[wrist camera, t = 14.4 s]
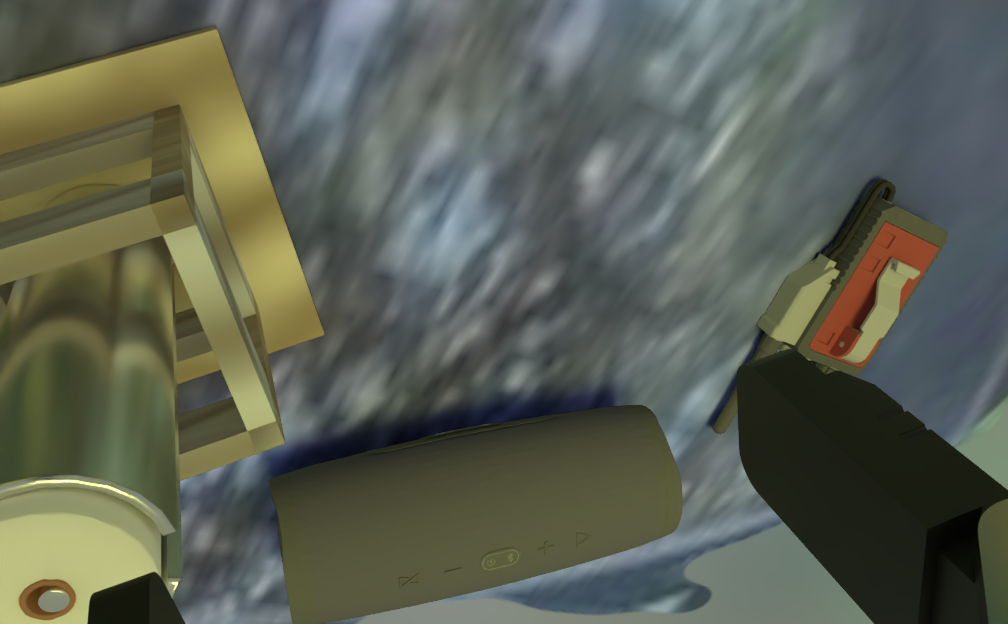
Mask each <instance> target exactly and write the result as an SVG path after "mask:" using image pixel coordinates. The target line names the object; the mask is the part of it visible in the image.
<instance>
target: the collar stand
mask: <svg viewBox="0 0 1008 624" xmlns="http://www.w3.org/2000/svg"><path fill="white" fill-rule="evenodd" d="M93 184H103V185H115V186H119V188H115V189H112V190H109V191H105V192H102V193H98V194H95V195H92V196H88V197H85V198H82V199H78V200H75V201H71V202H68V203H65V204H61V205H58V206H54V207H51V208H48V209H44V210H43V208H44V207H45V206H46V205H47V204H48V203H49V202H50V201H52V200H53V199H54V198H56V197H57V196H58V195H59V194H61V193H64V192H66V191H69V190H71V189H73V188H76V187H79V186H86V185H93ZM161 235H163V236H164V239H165V241H166V243H167V246H168V248H169V250H170V252H171V255H172V257H173V259H174V286H175V323H176V360H177V384H180V383H183V382H186V381H188V380H191V379H194V378H197V377H200V376H203V375H206V374H209V373H212V372H215V371H218V370H221V371H222V373H223V376H224V378H225V380H226V382H227V385H228V387H229V389H230V392H231V394H232V396H233V397H230V398H227V399H224V400H221V401H218V402H216V403H213V404H210V405H207V406H204V407H201V408H198V409H195V410H192V411H189V412H186V413H183V414H180V415H178V434H179V471H180V481H182V480H184V479H187V478H190V477H193V476H196V475H198V474H201V473H204V472H207V471H210V470H213V469H215V468H218V467H221V466H224V465H227V464H229V463H232V462H235V461H238V460H241V459H243V458H246V457H249V456H252V455H255V454H258V453H260V452H263V451H266V450H269V449H272V448H274V447H277V446H280V445H283V444H285V439H284V434H283V429H282V424H281V419H280V413H279V408H278V403H277V398H276V393H275V388H274V383H273V378H272V373H271V368H270V363H269V358H268V354H269V353H272V352H275V351H278V350H281V349H284V348H286V347H289V346H292V345H295V344H298V343H301V342H304V341H307V340H310V339H313V338H316V337H319V336H322V335H325V334H324V331H323V328H322V325H321V322H320V319H319V317H318V314H317V311H316V308H315V305H314V302H313V300H312V297H311V294H310V291H309V288H308V285H307V283H306V280H305V277H304V274H303V271H302V268H301V265H300V263H299V260H298V257H297V254H296V251H295V248H294V246H293V243H292V240H291V237H290V234H289V231H288V229H287V226H286V223H285V220H284V217H283V214H282V212H281V209H280V206H279V203H278V200H277V197H276V195H275V192H274V189H273V186H272V183H271V180H270V178H269V175H268V172H267V169H266V166H265V163H264V160H263V158H262V155H261V152H260V149H259V146H258V143H257V141H256V138H255V135H254V132H253V129H252V126H251V124H250V121H249V118H248V115H247V112H246V109H245V107H244V104H243V101H242V98H241V95H240V92H239V90H238V87H237V84H236V81H235V78H234V75H233V72H232V70H231V67H230V64H229V61H228V58H227V55H226V53H225V50H224V47H223V44H222V41H221V38H220V36H219V33H218V30H217V27H216V26H212V27H208V28H205V29H201V30H197V31H194V32H190V33H186V34H182V35H179V36H175V37H171V38H168V39H164V40H160V41H156V42H153V43H149V44H145V45H142V46H138V47H134V48H130V49H127V50H123V51H119V52H116V53H112V54H108V55H104V56H101V57H97V58H93V59H90V60H86V61H82V62H79V63H75V64H71V65H67V66H64V67H60V68H56V69H53V70H49V71H45V72H41V73H38V74H34V75H30V76H27V77H23V78H19V79H15V80H12V81H8V82H4V83H1V84H0V325H1V322H2V319H3V316H4V313H5V310H6V307H7V304H8V301H9V298H10V295H11V292H12V289H13V286H14V283H15V280H18V279H21V278H25V277H28V276H31V275H34V274H38V273H41V272H44V271H47V270H51V269H54V268H57V267H60V266H64V265H67V264H70V263H74V262H77V261H80V260H83V259H87V258H90V257H93V256H96V255H100V254H103V253H106V252H109V251H113V250H116V249H119V248H122V247H126V246H129V245H132V244H135V243H139V242H142V241H145V240H148V239H152V238H155V237H158V236H161Z"/></svg>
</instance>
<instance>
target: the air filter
mask: <svg viewBox="0 0 1008 624" xmlns="http://www.w3.org/2000/svg"><path fill="white" fill-rule="evenodd" d="M115 188H119V186H115V185H103V184H93V185H86V186H79V187H76V188H73V189H71V190H69V191H66V192H64V193H61V194H59V195H58V196H57V197H56V198H54V199H53V200H52V201H50V202H49V203H48V204H47V205H46V206H45V207H44V208H43V210H44V209H48V208H51V207H54V206H58V205H61V204H65V203H68V202H71V201H75V200H78V199H82V198H85V197H88V196H92V195H95V194H98V193H102V192H105V191H109V190H112V189H115ZM151 572H156V573H158V575H159V576H160V577H161V578H162V580H163V582H164V584H165V585H166V587H167V589H168V591H169V593H170V595H171V597H172V599H173V598H174V595H175V593H176V591H177V588H178V586H179V584H180V581H181V579H182V545H181V508H180V471H179V434H178V397H177V360H176V323H175V286H174V259H173V257H172V255H171V252H170V250H169V248H168V246H167V243H166V241H165V239H164V236H163V235H161V236H158V237H155V238H152V239H148V240H145V241H142V242H139V243H135V244H132V245H129V246H126V247H122V248H119V249H116V250H113V251H109V252H106V253H103V254H100V255H96V256H93V257H90V258H87V259H83V260H80V261H77V262H74V263H70V264H67V265H64V266H60V267H57V268H54V269H51V270H47V271H44V272H41V273H38V274H34V275H31V276H28V277H25V278H21V279H18V280H15V283H14V286H13V289H12V292H11V295H10V298H9V301H8V304H7V307H6V310H5V313H4V316H3V319H2V322H1V325H0V624H87V623H88V610H89V601H90V597H91V595H92V594H93V593H95V592H98V591H100V590H103V589H106V588H109V587H112V586H114V585H117V584H120V583H123V582H126V581H129V580H131V579H134V578H137V577H140V576H143V575H146V574H148V573H151Z"/></svg>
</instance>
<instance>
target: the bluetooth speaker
mask: <svg viewBox="0 0 1008 624" xmlns="http://www.w3.org/2000/svg"><path fill="white" fill-rule="evenodd" d="M269 483H270V490H271V495H272V499H273V502H274V504H275V506H276V508H277V513H278V537H279V543H280V550H281V556H282V562H283V569H284V576H285V582H286V588H287V594H288V600H289V606H290V612H291V618H292V623H293V624H318V623H327V622H333V621H340V620H346V619H351V618H356V617H361V616H366V615H371V614H376V613H380V612H385V611H390V610H395V609H400V608H405V607H410V606H414V605H419V604H423V603H428V602H433V601H437V600H441V599H446V598H450V597H455V596H459V595H463V594H468V593H472V592H477V591H481V590H485V589H489V588H493V587H497V586H501V585H505V584H509V583H513V582H517V581H520V580H524V579H528V578H531V577H535V576H539V575H542V574H546V573H550V572H554V571H557V570H561V569H565V568H568V567H572V566H575V565H579V564H582V563H585V562H589V561H592V560H596V559H599V558H602V557H606V556H609V555H613V554H616V553H619V552H623V551H626V550H629V549H632V548H635V547H638V546H641V545H644V544H646V543H649V542H651V541H654V540H656V539H658V538H661V537H664V536H666V535H669V534H671V533H672V532H674V531H675V530H676V528H677V527H678V525H679V522H680V519H681V514H682V503H683V499H682V484H681V478H680V473H679V470H678V468H677V465H676V463H675V460H674V458H673V455H672V452H671V450H670V447H669V444H668V442H667V439H666V437H665V435H664V433H663V431H662V429H661V427H660V425H659V423H658V420H657V418H656V416H655V415H654V413H653V412H652V411H651V410H650V409H648V408H647V407H645V406H643V405H627V406H611V407H603V408H595V409H588V410H582V411H575V412H569V413H563V414H551V415H545V416H540V417H534V418H528V419H522V420H516V421H510V422H505V423H492V424H490V423H489V424H483V425H479V426H474V427H468V428H463V429H458V430H453V431H448V432H443V433H438V434H433V435H430V436H427V437H423V438H420V439H419V440H414V441H410V442H405V443H401V444H397V445H392V446H388V447H383V448H379V449H374V450H370V451H366V452H364V453H360V454H356V455H352V456H348V457H344V458H340V459H335V460H331V461H327V462H323V463H319V464H315V465H311V466H308V467H305V468H301V469H298V470H295V471H292V472H289V473H286V474H283V475H280V476H277V477H274V478H271V479H269Z"/></svg>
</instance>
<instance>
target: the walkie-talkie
mask: <svg viewBox="0 0 1008 624" xmlns="http://www.w3.org/2000/svg"><path fill="white" fill-rule="evenodd" d="M884 188H885V192H884V195H883V196H882V198H879V197H877V196H878V194H879V193H880V192H881V191H882V190H883V189H884ZM895 192H896V191H895V186H894V185H893V184H892V183H891V182H888V181H887V180H879V181H877V182H876V183H875V184H874V185H873V186H872V187H871V188H870V189H869V191H868V193H867V194H866V196H865V197H864V198H862V199H860V200H859V201H860V202H859V204H858V206H856V207H855V211H854V212H853V213H851V215H850V216H851V217H850V219H849V220H847V222H846V223H847V224H846V225H845V227H844V228H842V232H841V234H840V235H838V237H837V238H838V239H837V240H836V242H834V243H833V247H832V248H831V249H829V250H828V252H827V253H826V254H825V255H822V254H819V255H818V257H817V258H816V259H814V260H812V261H811V262H809V263H808V264H806V265H804V266H803V267H801V268H799V269H798V270H796V271H795V272H793V273H791V274H790V275H788V276H787V278H786V280H785V281H784V283H783V285H782V286H781V288H780V290H779V291H778V293H777V295H776V296H775V298H774V300H773V301H772V303H771V305H770V306H769V308H768V310H767V311H766V313H765V314H764V315H762V316H761V318H760V320H759V321H758V323H757V326H759V327H760V328H761V329H762V330H763V331H765V333H764V335H763V336H762V338H761V340H760V341H759V343H758V345H757V347H758V348H757V350H756V352H755V353H754V355H753V357H752V358H751V360H750V362H752V361H755V360H758V359H761V358H763V357H766V356H769V355H772V354H775V353H776V352H777V350H778V348H779V349H780V350H782V351H783V350H786V349H794V350H796V351H798V352H799V353H800V354H802V355H803V356H804V357H805V358H806V359H808V360H812V361H813V362H812V363H813V364H814V365H815V366H816V367H817V368H818V369H820V370H821V371H822V372H823V373H825V374H828V373H831V372H834V371H836V370H839V371H841V372H842V371H843V372H846V373H848V374H851V375H859V374H860V373H862V372H863V371H864V370H865V368H866V367H867V365H868V363H869V362H870V360H871V359H872V357H873V356H874V354H875V353H876V351H877V349H878V348H879V346H880V345H881V343H882V342H883V340H884V339H885V337H886V335H887V334H888V332H889V331H890V329H891V328H892V326H893V325H894V323H895V321H896V320H897V317H898V316H899V314H901V312H902V310H903V308H904V307H905V306H906V303H907V302H908V300H910V298H911V296H912V294H913V293H914V292H915V290H916V288H917V286H919V284H920V282H921V280H922V279H923V278H924V275H925V274H926V272H928V270H929V268H930V266H931V265H932V264H933V262H934V260H935V258H937V256H938V254H939V252H940V251H941V250H942V248H943V246H944V244H946V240H947V234H948V232H947V231H945V230H943V229H941V228H939V227H937V226H935V225H933V224H931V223H929V222H927V221H925V220H923V219H921V218H919V217H917V216H915V215H913V214H911V213H909V212H907V211H905V210H903V209H901V208H899V207H897V206H895V205H893V204H892V203H891V201H892V199H893V198H894V195H895ZM737 412H738V406H737V383H736V385H735V387H734V388H733V390H732V392H731V393H730V398H729V400H728V402H727V404H726V405H725V407H724V409H723V410H722V412H721V414H720V415H719V417H718V419H717V420H716V422H715V424H714V426H713V430H714V431H715V432H716V433H718V434H721V433H724V432H725V431H726V430H727V428H728V426H729V425H730V423H731V421H732V420H733V418H734V417H735V415H736V413H737Z"/></svg>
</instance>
